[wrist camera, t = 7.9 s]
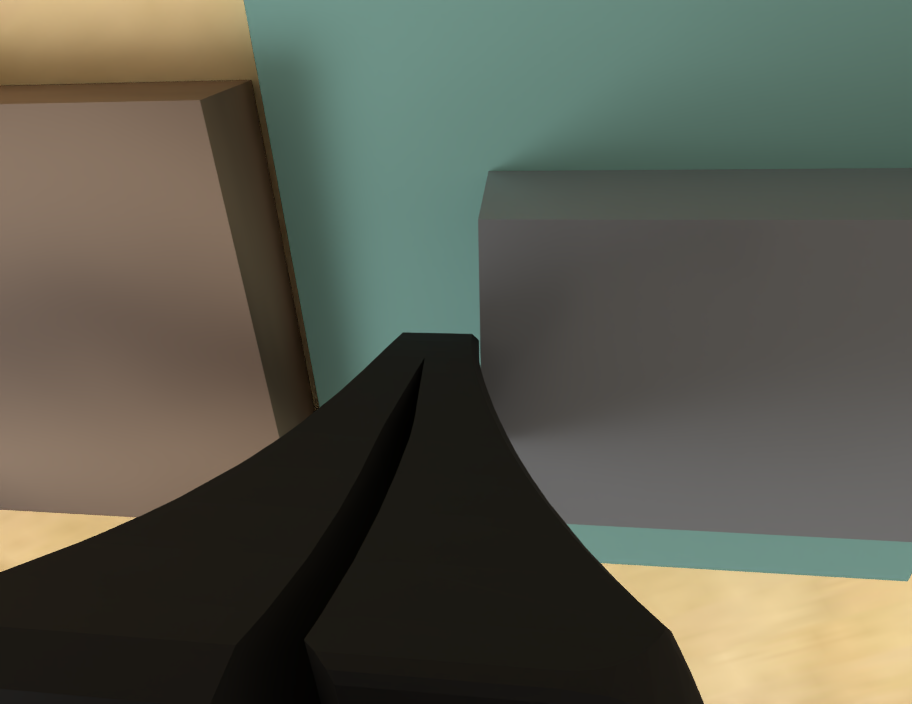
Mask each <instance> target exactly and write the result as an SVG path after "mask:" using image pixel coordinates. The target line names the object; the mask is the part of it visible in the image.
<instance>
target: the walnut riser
mask: <svg viewBox="0 0 912 704" xmlns="http://www.w3.org/2000/svg"><path fill="white" fill-rule="evenodd" d="M313 412H315V410H314V405H313V399H312V394H311V389H310V384H309V378H308V373H307V368H306V363H305V358H304V352H303V347H302V342H301V337H300V332H299V326H298V321H297V316H296V311H295V305H294V300H293V295H292V290H291V285H290V279H289V274H288V269H287V264H286V259H285V253H284V248H283V243H282V238H281V232H280V227H279V222H278V217H277V212H276V206H275V201H274V196H273V191H272V185H271V180H270V175H269V170H268V165H267V159H266V154H265V149H264V144H263V139H262V133H261V128H260V123H259V118H258V112H257V107H256V102H255V97H254V92H253V86H252V81H251V80H227V81H184V82H141V83H99V84H56V85H14V86H0V510H17V511H35V512H52V513H70V514H88V515H105V516H123V517H139V516H142V515H144V514H146V513H148V512H150V511H152V510H154V509H156V508H158V507H160V506H162V505H164V504H167V503H169V502H171V501H173V500H175V499H177V498H179V497H181V496H183V495H184V494H186V493H188V492H190V491H192V490H193V489H195V488H197V487H199V486H201V485H202V484H204V483H206V482H208V481H210V480H212V479H213V478H215V477H217V476H219V475H221V474H222V473H224V472H226V471H228V470H230V469H231V468H233V467H235V466H237V465H239V464H240V463H242V462H243V461H245V460H247V459H248V458H250V457H251V456H253V455H255V454H256V453H258V452H259V451H261V450H262V449H264V448H265V447H267V446H268V445H270V444H271V443H273V442H274V441H276V440H277V439H279V438H280V437H282V436H283V435H285V434H286V433H287V432H289V431H290V430H292V429H293V428H294V427H296V426H297V425H298V424H300V423H301V422H302V421H304V420H305V419H306V418H307V417H309V416H310V415H311V414H312V413H313Z"/></svg>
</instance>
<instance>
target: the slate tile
mask: <svg viewBox="0 0 912 704" xmlns="http://www.w3.org/2000/svg"><path fill="white" fill-rule="evenodd" d="M478 247H479V302H480V357H481V371H482V375H483V378H484V382H485V385H486V387H487V390H488V393H489V395H490V398H491V401H492V403H493V406H494V408H495V411H496V413H497V415H498V417H499V420H500V422H501V424H502V426H503V428H504V430H505V432H506V434H507V436H508V438H509V440H510V442H511V444H512V445H513V447H514V449H515V451H516V453H517V454H518V456H519V458H520V460H521V461H522V463H523V464H524V466H525V468H526V469H527V471H528V472H529V474H530V476H531V477H532V479H533V480H534V482H535V483H536V484H537V486H538V487H539V489H540V490H541V492H542V493H543V495H544V496H545V497H546V499H547V500H548V502H549V503H550V504H551V506H552V507H553V508H554V509H555V510H556V512H557V513H558V514H559V515H560V517H561V518H562V519H563V520H564V521H565V523H566V524H576V525H595V526H614V527H633V528H652V529H671V530H690V531H709V532H728V533H746V534H765V535H784V536H803V537H822V538H841V539H860V540H879V541H898V542H912V168H825V169H692V170H558V171H488V176H487V180H486V185H485V189H484V194H483V199H482V203H481V208H480V213H479V217H478Z"/></svg>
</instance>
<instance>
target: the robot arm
mask: <svg viewBox="0 0 912 704" xmlns="http://www.w3.org/2000/svg"><path fill="white" fill-rule="evenodd" d="M0 704H704V703H703V700H702V698H701V695H700V693H699V690H698V688H697V686H696V683H695V681H694V679H693V676H692V674H691V672H690V670H689V667H688V665H687V663H686V661H685V659H684V657H683V655H682V653H681V650H680V648H679V646H678V644H677V642H676V640H675V638H674V636H673V634H672V632H671V631H670V630H669V629H668V628H667V627H666V626H664V625H663V624H662V623H661V622H660V621H659V620H658V619H657V618H656V617H655V616H653V615H652V614H651V613H650V612H649V611H648V610H647V609H646V608H645V607H644V606H643V605H641V604H640V603H639V602H638V601H637V600H636V599H635V598H634V597H633V596H632V595H631V594H630V593H629V592H628V591H627V590H626V589H625V588H624V587H623V586H622V585H621V584H620V583H619V582H618V581H617V580H616V579H615V578H614V577H613V576H612V575H611V574H610V573H609V572H608V571H607V570H606V569H605V568H604V566H603V565H602V564H601V563H600V562H599V561H598V560H597V559H596V558H595V557H594V556H593V555H592V554H591V553H590V551H589V550H588V549H587V548H586V547H585V546H584V545H583V544H582V542H581V541H580V540H579V539H578V537H577V536H576V535H575V534H574V533H573V531H572V530H571V529H570V528H569V526H568V525H567V524H566V523H565V521H564V520H563V519H562V518H561V517H560V515H559V514H558V513H557V512H556V510H555V509H554V508H553V507H552V506H551V504H550V503H549V502H548V500H547V499H546V497H545V496H544V495H543V493H542V492H541V490H540V489H539V487H538V486H537V484H536V483H535V482H534V480H533V479H532V477H531V476H530V474H529V472H528V471H527V469H526V468H525V466H524V464H523V463H522V461H521V460H520V458H519V456H518V454H517V453H516V451H515V449H514V447H513V445H512V444H511V442H510V440H509V438H508V436H507V434H506V432H505V430H504V428H503V426H502V424H501V422H500V420H499V417H498V415H497V413H496V411H495V408H494V406H493V403H492V401H491V398H490V395H489V393H488V390H487V387H486V385H485V382H484V378H483V375H482V371H481V367H480V363H479V340H478V339H477V338H476V337H475V336H474V335H473V334H458V333H411V332H403V333H402V334H401V335H399V336H398V337H397V338H396V339H395V340H394V341H393V342H392V343H391V344H390V345H389V346H388V347H387V348H385V349H384V350H383V351H382V352H381V353H380V354H379V355H378V356H377V357H376V358H375V359H374V360H373V361H372V362H371V363H370V364H369V365H368V366H367V367H366V368H365V369H363V370H362V371H361V372H360V373H359V374H358V375H357V376H356V377H355V378H354V379H353V380H351V381H350V382H349V383H348V384H347V385H346V386H345V387H344V388H343V389H342V390H340V391H339V392H338V393H337V394H336V395H335V396H333V397H332V398H331V399H330V400H328V401H327V402H326V403H325V404H323V405H322V406H321V407H320V408H318V409H317V410H316V411H315V412H313V413H312V414H311V415H310V416H309V417H307V418H306V419H305V420H304V421H302V422H301V423H300V424H298V425H297V426H296V427H294V428H293V429H292V430H290V431H289V432H287V433H286V434H285V435H283V436H282V437H280V438H279V439H277V440H276V441H274V442H273V443H271V444H270V445H268V446H267V447H265V448H264V449H262V450H261V451H259V452H258V453H256V454H255V455H253V456H251V457H250V458H248V459H247V460H245V461H243V462H242V463H240V464H239V465H237V466H235V467H233V468H231V469H230V470H228V471H226V472H224V473H222V474H221V475H219V476H217V477H215V478H213V479H212V480H210V481H208V482H206V483H204V484H202V485H201V486H199V487H197V488H195V489H193V490H192V491H190V492H188V493H186V494H184V495H183V496H181V497H179V498H177V499H175V500H173V501H171V502H169V503H167V504H164V505H162V506H160V507H158V508H156V509H154V510H152V511H150V512H148V513H146V514H144V515H142V516H139V517H137V518H135V519H133V520H130V521H128V522H126V523H124V524H121V525H119V526H117V527H115V528H112V529H110V530H108V531H106V532H103V533H101V534H98V535H96V536H94V537H91V538H89V539H86V540H84V541H82V542H79V543H77V544H74V545H71V546H69V547H66V548H63V549H61V550H58V551H55V552H53V553H50V554H47V555H45V556H42V557H39V558H37V559H34V560H32V561H29V562H26V563H24V564H21V565H18V566H16V567H13V568H10V569H8V570H5V571H2V572H0Z"/></svg>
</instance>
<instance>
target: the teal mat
mask: <svg viewBox="0 0 912 704" xmlns="http://www.w3.org/2000/svg"><path fill="white" fill-rule="evenodd" d="M244 4H245V10H246V15H247V21H248V26H249V31H250V37H251V42H252V47H253V53H254V58H255V64H256V69H257V74H258V80H259V85H260V90H261V96H262V101H263V107H264V112H265V117H266V123H267V128H268V133H269V139H270V144H271V150H272V155H273V160H274V166H275V171H276V176H277V182H278V187H279V193H280V198H281V203H282V209H283V214H284V219H285V225H286V230H287V236H288V241H289V246H290V252H291V257H292V262H293V268H294V273H295V279H296V284H297V289H298V295H299V300H300V305H301V311H302V316H303V322H304V327H305V332H306V338H307V343H308V348H309V354H310V359H311V365H312V370H313V375H314V381H315V386H316V391H317V397H318V402H319V408H320V407H321V406H322V405H323V404H325V403H326V402H327V401H328V400H330V399H331V398H332V397H333V396H335V395H336V394H337V393H338V392H339V391H340V390H342V389H343V388H344V387H345V386H346V385H347V384H348V383H349V382H350V381H351V380H353V379H354V378H355V377H356V376H357V375H358V374H359V373H360V372H361V371H362V370H363V369H365V368H366V367H367V366H368V365H369V364H370V363H371V362H372V361H373V360H374V359H375V358H376V357H377V356H378V355H379V354H380V353H381V352H382V351H383V350H384V349H385V348H387V347H388V346H389V345H390V344H391V343H392V342H393V341H394V340H395V339H396V338H397V337H398V336H399V335H401V334H402V333H403V332H411V333H458V334H473V335H474V336H475V337H476V338H477V339H478V340H479V363H480V367H481V357H480V302H479V247H478V217H479V213H480V208H481V203H482V199H483V194H484V189H485V185H486V180H487V176H488V171H558V170H692V169H825V168H912V0H244ZM567 525H568V526H569V528H570V529H571V530H572V531H573V533H574V534H575V535H576V536H577V537H578V539H579V540H580V541H581V542H582V544H583V545H584V546H585V547H586V548H587V549H588V550H589V551H590V553H591V554H592V555H593V556H594V557H595V558H596V559H597V560H598V561H599V562H600V563H611V564H628V565H644V566H661V567H678V568H695V569H711V570H728V571H745V572H762V573H778V574H795V575H812V576H829V577H845V578H862V579H879V580H896V581H908V580H909V578H910V576H911V574H912V542H898V541H879V540H860V539H841V538H822V537H803V536H784V535H765V534H746V533H728V532H709V531H690V530H671V529H652V528H633V527H614V526H595V525H576V524H567Z"/></svg>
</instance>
